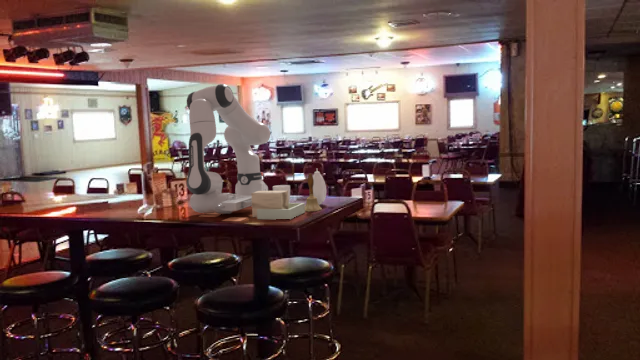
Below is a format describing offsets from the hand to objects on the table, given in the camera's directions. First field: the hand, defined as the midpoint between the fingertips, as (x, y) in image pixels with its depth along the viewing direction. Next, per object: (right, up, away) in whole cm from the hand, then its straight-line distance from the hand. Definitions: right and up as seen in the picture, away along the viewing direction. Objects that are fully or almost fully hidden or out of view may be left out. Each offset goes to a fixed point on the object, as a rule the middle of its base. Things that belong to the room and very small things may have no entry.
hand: (255, 203), depth 231 cm
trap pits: (-13, -5, 0) cm, 14 cm away
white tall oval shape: (+26, -2, +25) cm, 36 cm away
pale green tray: (+11, -5, -3) cm, 12 cm away
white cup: (+10, -3, +19) cm, 22 cm away
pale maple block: (+6, -5, -2) cm, 8 cm away
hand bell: (+24, -3, +10) cm, 26 cm away
